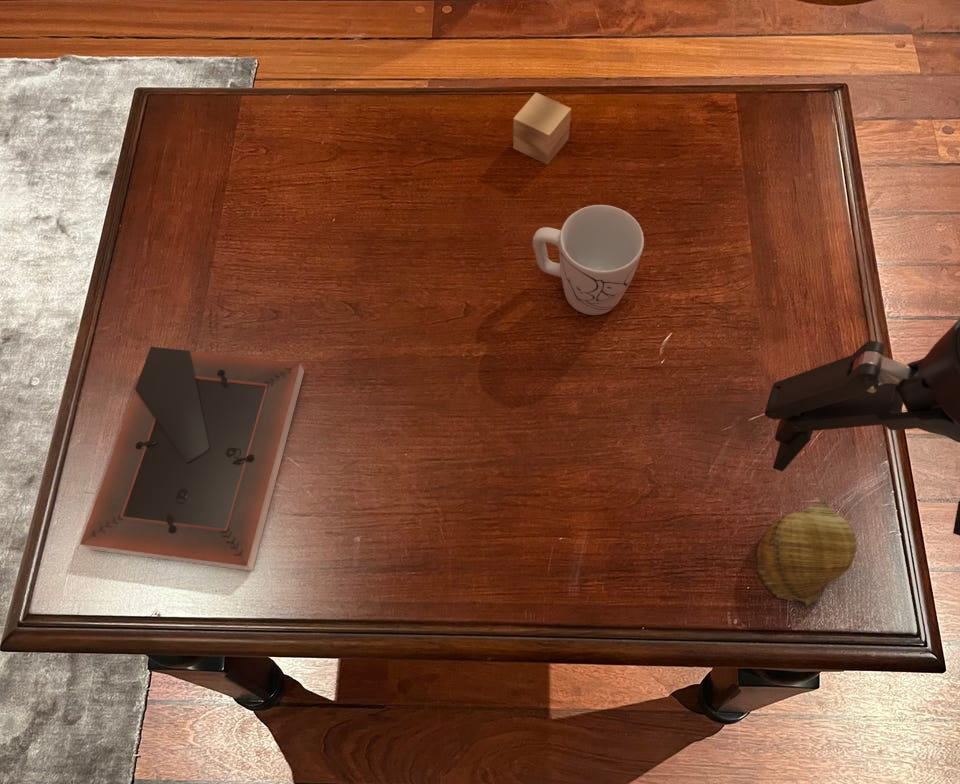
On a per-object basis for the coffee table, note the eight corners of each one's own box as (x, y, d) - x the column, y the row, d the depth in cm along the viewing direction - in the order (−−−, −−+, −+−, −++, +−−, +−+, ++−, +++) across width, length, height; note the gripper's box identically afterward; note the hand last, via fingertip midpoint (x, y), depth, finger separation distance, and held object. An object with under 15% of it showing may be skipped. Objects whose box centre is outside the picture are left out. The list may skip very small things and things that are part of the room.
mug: (518, 302, 89) (519, 248, 80) (545, 244, 92) (549, 186, 83) (616, 334, 86) (629, 283, 78) (640, 274, 90) (655, 218, 81)
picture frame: (159, 357, 87) (91, 550, 78) (150, 346, 85) (78, 543, 76) (305, 373, 86) (253, 571, 76) (300, 362, 83) (246, 565, 74)
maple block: (568, 138, 99) (571, 108, 94) (547, 165, 97) (549, 135, 93) (534, 122, 100) (535, 92, 96) (513, 148, 99) (513, 118, 94)
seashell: (785, 607, 77) (864, 618, 71) (739, 594, 74) (818, 605, 67) (795, 508, 80) (872, 510, 73) (751, 491, 76) (828, 492, 69)
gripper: (1292, 373, 42) (1046, 502, 61) (812, 230, 47) (724, 391, 66) (1293, 500, 39) (1034, 594, 58) (781, 333, 44) (698, 470, 63)
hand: (869, 486), depth 62 cm, fingers open, 13 cm apart
